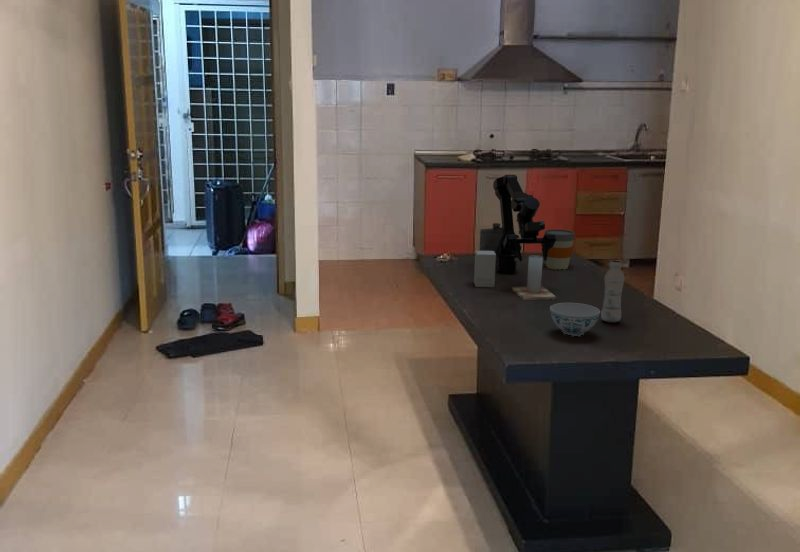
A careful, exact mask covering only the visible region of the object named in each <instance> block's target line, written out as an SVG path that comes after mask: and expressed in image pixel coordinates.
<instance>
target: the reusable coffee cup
mask: <svg viewBox="0 0 800 552" xmlns="http://www.w3.org/2000/svg"><path fill="white" fill-rule="evenodd" d="M544 234H554V235H555V236H556V242H555V243H554V245H553V247H552V248H550V249H549V250H548V254H547V260H546V261H545V264H546V265H545V266H546V268H547V267H548V269H551V270H557V269H559V270H560V271H561V269H563V270H567V269H568V268H569V264H570V259H571V257H572V255H573V250H574V240H575V231H572V230H568V229H560V228H559V229H558V228H557V229H555V228H554V229H552V228H551V229H545V230H544ZM559 270H558V271H559Z"/></svg>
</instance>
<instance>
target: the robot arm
mask: <svg viewBox="0 0 800 552" xmlns="http://www.w3.org/2000/svg"><path fill="white" fill-rule="evenodd" d="M492 183H493V185H492V186H493V190H494V195H495V196H496V198H497V199H498V200H499V207H500V208H499V209H500V216H501V228H502V232H503V235H502V237H501V239H500V241H499V245H498V247H497V250H496V256H497V257H498V258H499V266H498V270H497V273H499V274H509V275H514V274H515V273H516V272H517V267H518V261H519V262H523V256H522V252H521V251H522V246H521V245H523V244H525V245H527V244H528V245H529V244H530V245H532V244H534V245H536V244H539V245H540V244H541V245H540V246H541V254H542V257H543V260H544V261H545V262H546V260H547V254H548V250H549V249H550V248H552V247H553V245H554V243H555V242H556V236H555V235H554V234H545V233H544V235H543V236H542V237H539V235H540V233H539V232H541V231H543V230H544V231H545V230H546V229H545V228H546V223H545V220H538V221H534V219H533V218H534V217H535V216H536V214H537V212H538V210H539V208H540V204H541V203H540V201H539V199H537V198H536V197H534V196H533V194H528V193H525V192H524V191H523V189H522V186H521V185H520V182H519V181H518V176H517V175H516V174H505V175H502V176H501V177H497V178H496V179H494V180H493V182H492ZM513 212H515V213H516V212H517V214H516V222H517V225H518V234H519V235H518V234H516V233H515V228H514V227H515V226H514V216H513ZM517 259H518V261H517Z"/></svg>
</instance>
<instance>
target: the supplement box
mask: <svg viewBox="0 0 800 552" xmlns="http://www.w3.org/2000/svg"><path fill="white" fill-rule="evenodd" d="M495 264H496V254H495V252H494V251H479V250H475V253H474V274H473V284H474V287H475V288H476V287H477V288H479V287H480V288H494V287H495V283H496V282H495V281H496V267H495Z"/></svg>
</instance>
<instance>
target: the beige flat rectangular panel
mask: <svg viewBox="0 0 800 552" xmlns="http://www.w3.org/2000/svg"><path fill="white" fill-rule="evenodd" d="M511 290H512V291H513V293H515V294H516V295H517V296H518V297H519V296H520V297H519V298H521V300H522V301H556V300H557V296H556V295H555V294H553V293H552V292H551V291H550V290H549V289H547V288H546V287H544V286H543V285H541V292H540V293H529V292H527V286H512V287H511ZM550 299H552V300H550ZM555 299H556V300H555Z"/></svg>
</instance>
